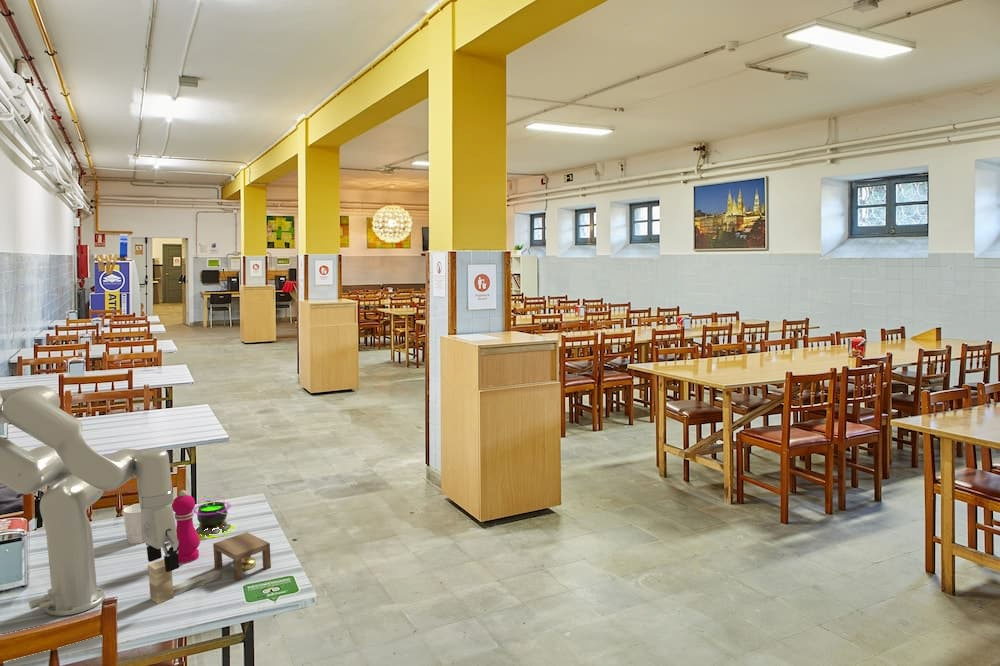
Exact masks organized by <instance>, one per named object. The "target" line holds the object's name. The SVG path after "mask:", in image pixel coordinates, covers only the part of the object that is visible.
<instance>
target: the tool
mask: <svg viewBox="0 0 1000 666" xmlns="http://www.w3.org/2000/svg"><path fill="white" fill-rule="evenodd" d="M147 566H148V567H147V569H148V583H149V584H148V585H149V597H150V600H152V601H153V602H154V601H155V602H154V603H156V604H157V605H159V604H161V603H164V602H166V601H168V600H172V599H174V598H175V596H178V595H180V594H183V593H186V592H188V591H190V590H193V588H194V589H196V588H199V587H201V586H200V585H202V584H204V585H206V584H205V583H207V582H209V583H211V582H210V581H212V582H215V581H216V580H219V579H222V575H221V574H222V573H221V572H220V571H218V569H215V570H213V571H210V572H208V573H205V574H202V575H199V576H197V577H194V578H191V579H188V580H186V581H183V582H181V583H178V584H175V585H174V584H173V583H174V581H173V570H172V571H170V572H166V571H165V562H164V559H161V560H158V561H156V562H155V561H154V562H152V563H149V564H147ZM214 580H215V581H214ZM207 584H208V583H207ZM198 586H199V587H198ZM202 586H203V585H202ZM195 587H196V588H195ZM163 601H164V602H163Z"/></svg>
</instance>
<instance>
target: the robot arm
mask: <svg viewBox="0 0 1000 666" xmlns="http://www.w3.org/2000/svg"><path fill="white" fill-rule="evenodd" d="M60 406H61V397H60V395H59V394H58V393H57V391H55V390H54V389H53V388H51V387H49V386H45V385H31V386H24V387H17V388H9V389H0V425H2V424H8V423H9V424H11V425H12V426H13V427H16V429H19V430H20V431H22V432H24V433H25V434H27V435H29V436H31V437H32V438H34V439H35V440H37V441H39V442H41V444H43V445H41V446H37V447H35V448H33V449H30V450H28V449H24V448H22V447H20V446H18V445H17V444H16V443H14V442H13V441H11V440H9V439H7V438H5V437H3V436H0V483H1V484H3V485H4V486H6V487H8V488H9V489H11V490H13V491H14V492H17V494H22V495H30V494H33V493H34V494H35V493H37V492H39V491H41V490H42V489H43V488H45V487H46V486H48V488H47V489H46V490H45V492H44V493H43V495H42V496H41V498H40V500H39V501H40V502H39V511H40V515H41V518H42V519H41V520H42V522H43V526H44V529H45V536H46V545H47V552H48V553H47V555H48V567H49V576H50V577H49V578H50V587H51V588H50V589H48V590H47V593H46V594H44V595H43V596H42V597H40V598H35V599H33V600H29V602H28V606H29V609H30V610H34V609H36V608H38V609H39V610H43V609H45V612H46V613H47V614H48V615H51V616H57V617H58V616H59V617H62V616H71V615H76V614H79V613H83V612H86V611H89V610H90V609H93V608H95V607H97V606H98V605H99V604H101V603H102V602H101V600H102V599H103V600H104V599H105V591H104V589H102V588H100V587H97V575H96V562H95V549H94V539H93V538H94V537H93V529H92V525H91V521H90V520H89V517H88V515H87V514H88V513H87V510H88V509H89V508H90V507H91V506H93V505H94V504H95V503H97V501H99V499H101V497H102V496H103V494H104V492H105V491H108V492H109V491H115V490H118V489H119V488H120V487H122V486H123V485H124V484H126V483H127V482H129V481H130V480H132V479H134V478H136V483H137V492H138V502H139V504H140V509H141V533H142V540H143V541H144V543H145V546H146V556H147V562H149V563H151V562H155V561H157V560H160V559H162V557H163V560H164V562H165V571H166V572H170V571H172V572H173V571H174V570H178V569H179V568H180V563H179V559H178V548H179V547H178V544H179V541H178V539H177V532H176V529H177V524H176V519H175V515H174V514H175V512H174V511H173V509H172V504H173V502H174V501H173V500H174V493H173V485H172V475H171V466H170V465H171V464H170V456H169V452H168V451H167V450H166V449H164V448H150V449H144V450H143V449H135V448H134V449H131V448H124V449H123V448H122V449H118V450H117V451H115V452H113V453H112V454H110V455H108V456H107V457H106V456H104V455H102V454H100V453H99V452H97V451H96V450H94V449H93V448H92V447H90V445H88V443H87V442H86V440H85V439H84V436H83V423H82V421H81V420H80V419H78V418H76V417H75V416H73V415H72V414H70V413H68V412H67V411H64V410H63V409H61V408H60ZM168 547H169V548H168ZM162 551H163V553H164V556H162V555H163V554H162Z"/></svg>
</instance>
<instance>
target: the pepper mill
mask: <svg viewBox="0 0 1000 666" xmlns="http://www.w3.org/2000/svg"><path fill="white" fill-rule="evenodd" d="M173 501H174V502H173V504H171V505H172V509H173V513H174V518H175V522H176V532H177V539H178V541H179V544H178V547H179V548H178V559H179V564H180V563H181V564H185V563H190V562H192V561H196V560H197V559H198V558H199V556H200V551H199V549H198V548H199V546H200V544H201V539H199V536H198V534H197V532H196V530H195V528H194V526H195V525H194V521H193V517H194V516H195V513H194V511H193V510H194V509H195V507H196V501H195V498H194V497H193V496H191V495H189V494H187V491H186V490H184V489H182V490H180V491H179V496H178V495H177V496H176V497H175V498H173Z"/></svg>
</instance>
